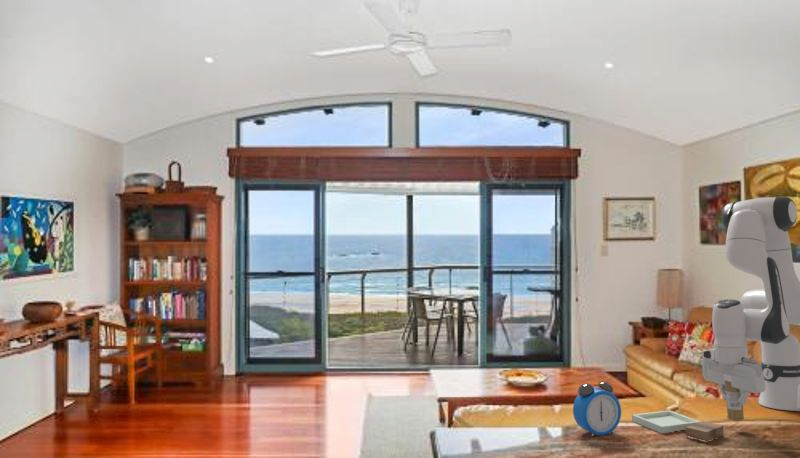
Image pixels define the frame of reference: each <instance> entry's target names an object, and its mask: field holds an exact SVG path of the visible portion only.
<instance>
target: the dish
mask: <svg viewBox="0 0 800 458" xmlns="http://www.w3.org/2000/svg"><path fill="white" fill-rule="evenodd" d="M631 422H633V423H635V424H637V425H640V426H642V427H645V428H648V429H650V430H652V431H655V432H657V433H659V434H669V433H670V432H671V433H674V432H673V431H678V432H681V431H680V430H686V427H688V426H691V425H694V424H697V423H699V422H701V421H700V420H698V419H695V418H691V417H690V416H686V415H683V414H681V413H677V412H675V411H673V410H661V411H651V412H643V413H642V412H641V413H634V414H631Z"/></svg>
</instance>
